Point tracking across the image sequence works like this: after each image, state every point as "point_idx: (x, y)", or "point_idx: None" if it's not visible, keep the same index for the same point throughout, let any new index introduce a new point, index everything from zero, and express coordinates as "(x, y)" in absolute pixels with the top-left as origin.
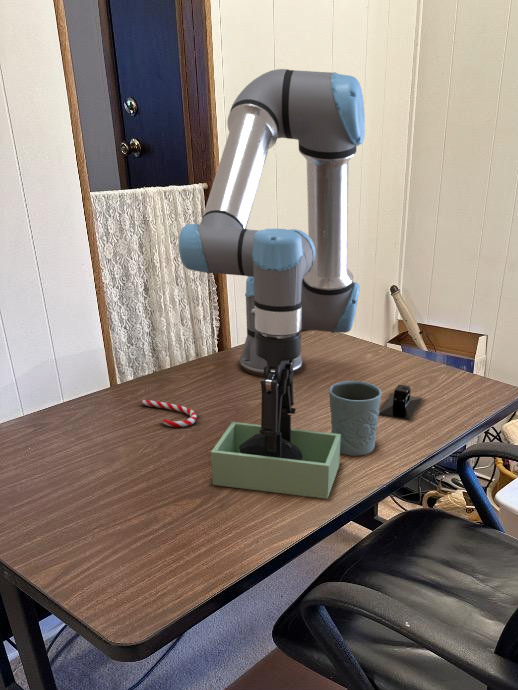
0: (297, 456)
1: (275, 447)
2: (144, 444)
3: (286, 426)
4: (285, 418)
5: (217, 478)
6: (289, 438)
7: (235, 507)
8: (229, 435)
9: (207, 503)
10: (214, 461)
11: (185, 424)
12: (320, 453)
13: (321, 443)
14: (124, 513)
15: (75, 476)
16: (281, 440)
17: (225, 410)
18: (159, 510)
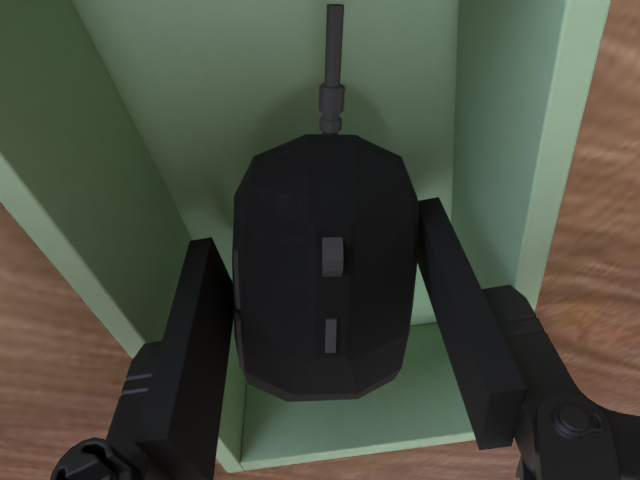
0: (350, 163)
1: (522, 313)
2: (311, 465)
3: (194, 368)
4: (185, 432)
5: None
6: (203, 285)
7: (599, 215)
8: (319, 438)
9: (572, 287)
10: None
11: None
12: (72, 69)
13: (33, 95)
14: (623, 386)
15: (477, 473)
16: (327, 314)
17: (25, 445)
18: (612, 350)
